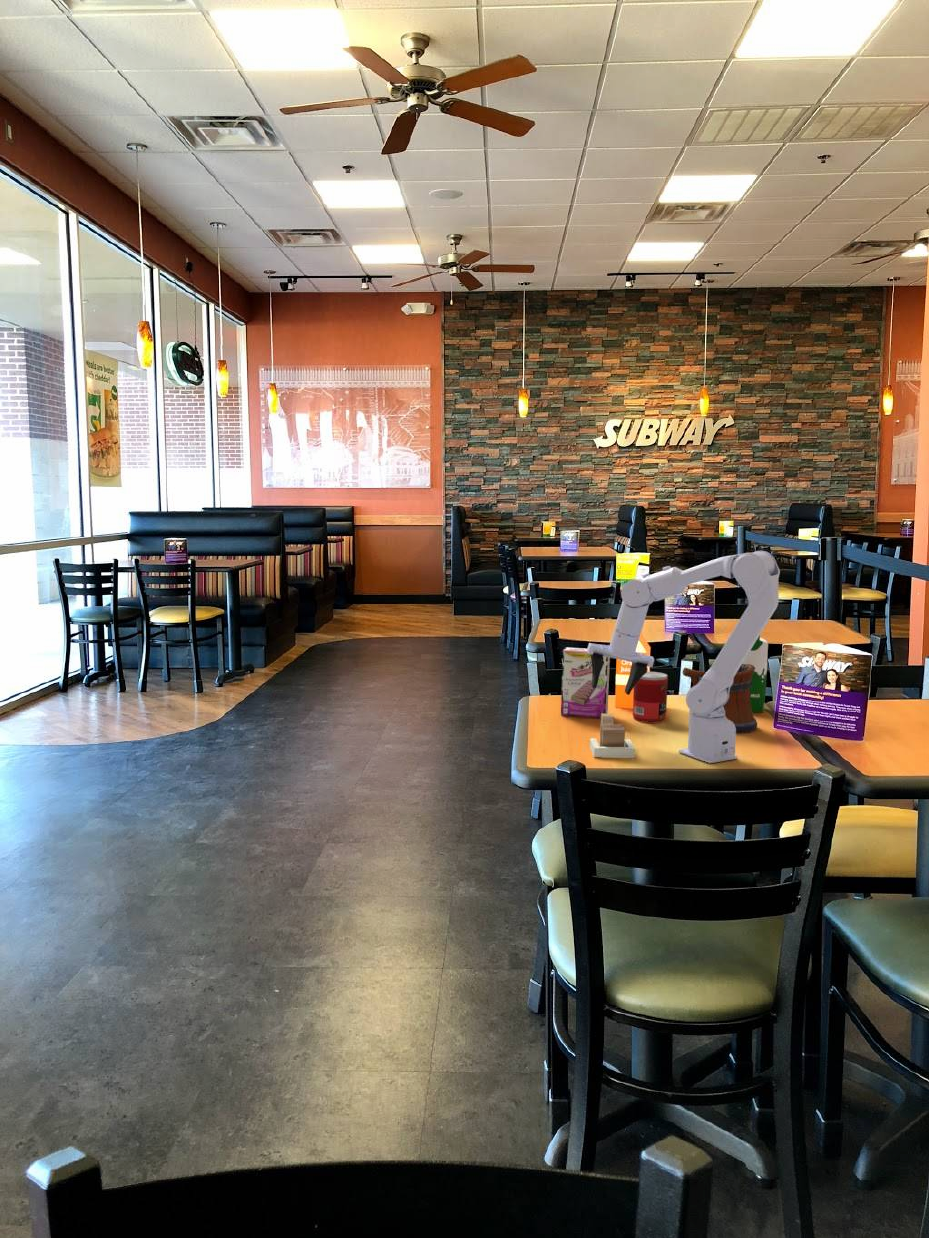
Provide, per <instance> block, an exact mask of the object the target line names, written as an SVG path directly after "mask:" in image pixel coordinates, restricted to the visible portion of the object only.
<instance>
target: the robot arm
mask: <svg viewBox="0 0 929 1238" xmlns="http://www.w3.org/2000/svg"><path fill="white" fill-rule="evenodd" d="M780 573H781V570H780V567H779V566H778V563H777V561H776V559H775V557H774V556H773V555H772V554H771V553H770V552H768V551H765V550H756V551H754V552H745V553H739V554H733V555H726V556H721V557H718V558H716V559H715V558H714V559H712V560H710V561H707V562H704V563H701V564H699V565H695V566H693V567H690V568H688V569H684V570H682V569H681V568H678V567H676V566H673V567H672V566H671V565H668V566H665V567H662V570H661V571H658V572H655V573H653V574H649V573H644V574H642V578H638V579H637V578H636V579H635V578H634V579H633V578H632V579H630V580H629V581H626V583H625V584H623V586H622V587H621V591H620V596H621V599H622V602H621V606H620V608H619V611H618V615H617V619H616V622H615V625H614V629H613V633H612V636H611V639H610V643H609V644H607V645H606V644H598V643H591V642H589V643H588V645H587V648H586V649H587V652H588V654H590V656H591V662H592V684H591V685H592V687H593V688H596V686H597V684H598V679H599V675H600V672H601V670H602V667H603V665H604V661H603V659H604V658H603V656H606V657H610V659H616V660H617V659H620V660H624V661H629V662H632V665H631V670H630V675H629V678H628V681H627V684H626V687H625V693H626V694H627V695H630V693H631V691H632V689H633V687H634V686H635V684H636V683H637V682H638V681H639V679H640V678H641V677H642V676H643V675H644V674H646V672H647V670H648V668H647V666H648V667H650V668H653V665H654V663H655V658H654V656H651V655H650V656H648V655H645V654H642V653H638V652H635V651H636V648H637V645H638V641H639V638H640V634H642V631H643V627H644V624H645V621H646V617H647V613H648V610H649V606H650V605H651V604H652V603H653V602H659V601H661V600H664V599H668V598H672V597H674V596H678V595H681V594H683V593H685V591H686V588H687V587H688V586H689V585H691V584H694V583H695V584H696V583H699V582H702V581H706V580H708V579H713V578H717V577H720V576H722V577H724V578H726V579H734V578H735V580H736V582H738V584H739V585H740V586H741V588H742V589H743V590H744V592H745V595H746V597H747V598H746V599H747V600H748V605H747V607H746V608H745V610H744V612H743V613H742V615H741V616H740V619H739V620H738V622H737V624H736V625H735V627H734V628H733V630H732V632H731V634H730V635H729V637H728V638H727V640H726V642H725V643H724V645H723V646H722V648H721V650H720V652H719V653H718V655H717V656H716V658H715V660H714V662H713V663H712V665H711V666H710V668H709V669H708V670H707V671H706V672H707V673H706V674H705V675H704V676H703V677H701V678H700V680H699V681H698V684H697V685H695V686H694V687H693V686H692V687H690V689H689V690H687V693H686V696H685V702H686V706H687V708H688V709H689V711H688V713H689V714H688V715H689V716H688V741H687V748H683V749H678V753H680V754H682V755H685V756H688V757H691V758H694V759H697V760H700V761H701V762H704V761H705V763H707V762H708V764H714V763H718V762H725V761H731V760H737V759H738V758H739V757H738V755H736V741H737V738H736V737H737V732H736V728H735V725H734V723H733V722H732V721H730V720H728V719H727V718H726V716H725V710H724V707H723V705H725V704H726V702H727V701H728V699H729V690H730V687H731V685H732V684H733V679H734V676H735V674H736V673H737V671H738V670H739V668H740V666H741V665H742V663H743V661H744V660H745V658H746V657H747V655H748V653H749V652H750V650H751V648H752V647H753V645H754V644H755V642H756V640H757V639H758V637H759V636H760V637H761V635H762V632H763V630H764V629H765V627H766V626H767V624H768V622H769V621H770V620H771V617H772V616H773V614H774V612H775V611H776V610H777V608H778V605H779V600H780V599H779V578H780Z"/></svg>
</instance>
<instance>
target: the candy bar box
mask: <svg viewBox="0 0 929 1238" xmlns="http://www.w3.org/2000/svg"><path fill="white" fill-rule="evenodd" d="M603 658H604V659H603V661H604V665H603V667H602V670H601V672H600V675H599V679H598V684H597V686H596V688H593V687H592V685H591V684H592V662H591V656H590V654H588V652H587V648H583V647H581V648H580V647H565V648H564V649H563V650H562V669H561V671H562V673H561V697H560V716H564V717H565V716H568V717H579V718H581V717H582V718H591V719H596V718H597V719H601V714H609V713H608V712H609V711H608V710H609V684H610V683H609V681H610V663H611V658H610V657H606V656H603Z"/></svg>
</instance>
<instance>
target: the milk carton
mask: <svg viewBox="0 0 929 1238" xmlns="http://www.w3.org/2000/svg"><path fill="white" fill-rule="evenodd" d="M768 650H769V642H768V641H767V640H766V639H765V638H762V637H761V635H760V636H759V637H758V639H757V640H756V642H755V644H754V645H753V647H752V648H751V650H750V652H749V653H748V655H747V657H746V658H745V660H744V661H743V663H742V664H751V665H753V666H754V667H755V670H754V673H753V675H752V679H751V680H752V685H751V687H750V704H751V709H752V712H753V713H761V714H763V713H764V706H765V702H766V701H765V699H766V690H767V677H768V676H767V672H768Z"/></svg>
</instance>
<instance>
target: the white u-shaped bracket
mask: <svg viewBox="0 0 929 1238" xmlns="http://www.w3.org/2000/svg"><path fill="white" fill-rule="evenodd" d="M589 739H590V741H589V748H590V750H591V753H593V754H592V757H593V758H595V757H602V759H603V758H606V759H607V758H610V759H611V758H612V759H614V758H615V759H635V758H636V748H635V745H634V744H633V742H632V740H631V739H630V738H625V742H624V747H600V743H599V742H598V740H597V738H593V737H592V738H589Z"/></svg>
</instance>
